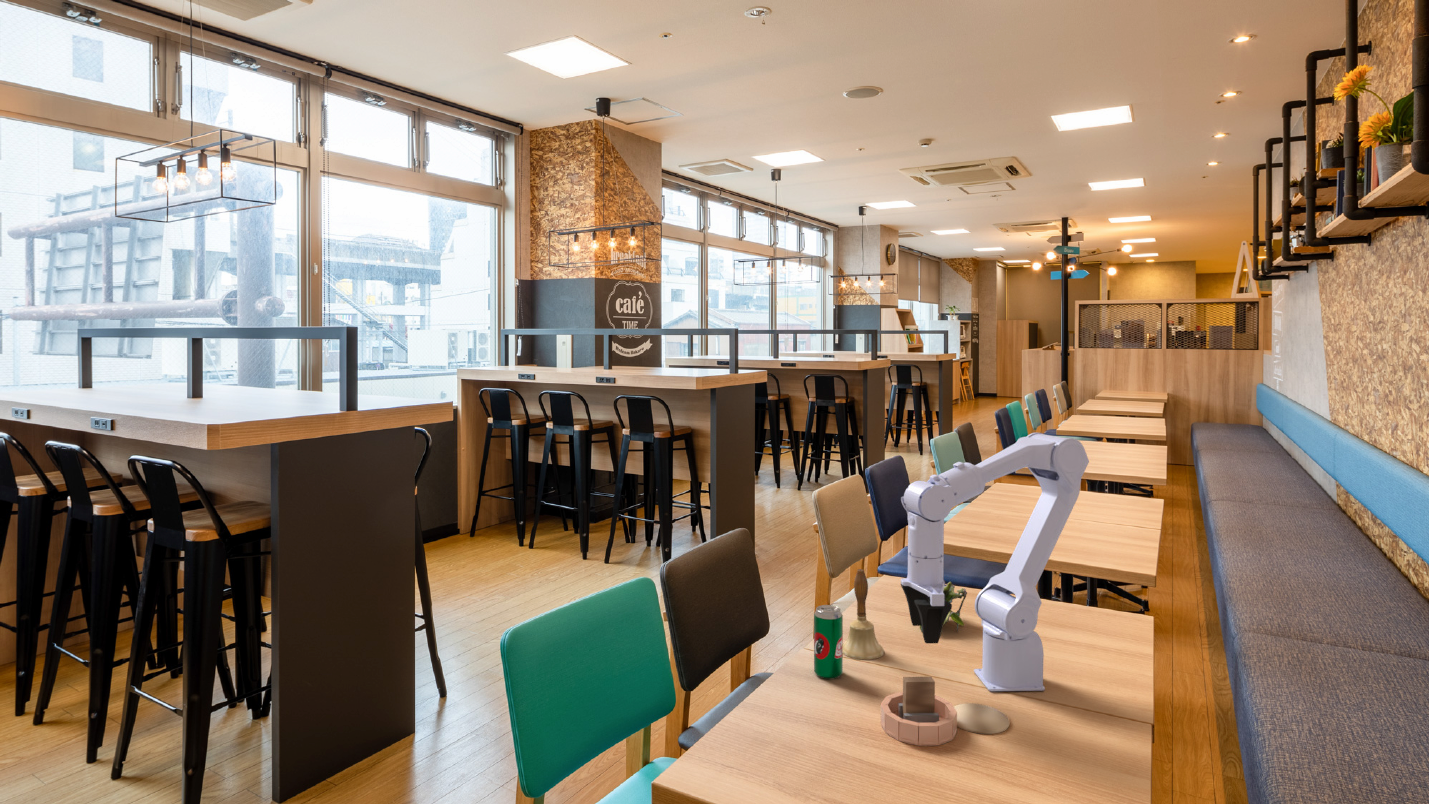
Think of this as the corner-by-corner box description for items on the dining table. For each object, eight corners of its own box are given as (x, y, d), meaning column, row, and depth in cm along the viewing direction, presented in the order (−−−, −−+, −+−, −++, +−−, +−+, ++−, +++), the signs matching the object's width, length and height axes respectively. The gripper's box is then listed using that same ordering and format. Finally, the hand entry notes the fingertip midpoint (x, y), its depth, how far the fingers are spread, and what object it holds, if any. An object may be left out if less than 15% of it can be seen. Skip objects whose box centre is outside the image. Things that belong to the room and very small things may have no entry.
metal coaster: (996, 705, 124) (996, 702, 124) (1018, 733, 115) (1018, 731, 115) (941, 706, 124) (941, 703, 124) (959, 734, 115) (959, 732, 115)
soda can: (842, 681, 134) (842, 614, 133) (813, 679, 135) (812, 613, 134) (843, 669, 139) (843, 604, 138) (815, 667, 140) (814, 603, 139)
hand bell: (855, 663, 141) (856, 578, 140) (831, 647, 149) (831, 566, 148) (892, 655, 145) (893, 572, 143) (867, 639, 152) (867, 561, 151)
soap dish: (943, 708, 124) (943, 690, 123) (966, 745, 112) (966, 725, 112) (874, 709, 123) (874, 691, 123) (890, 746, 112) (890, 726, 112)
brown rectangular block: (931, 720, 119) (931, 676, 118) (934, 725, 117) (934, 681, 116) (902, 720, 119) (903, 676, 118) (905, 726, 117) (906, 682, 116)
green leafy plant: (929, 645, 163) (941, 591, 168) (974, 651, 154) (985, 594, 159) (897, 625, 157) (911, 570, 162) (942, 630, 149) (955, 572, 154)
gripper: (891, 542, 134) (890, 618, 135) (913, 567, 120) (912, 651, 121) (931, 542, 134) (930, 617, 135) (958, 566, 120) (956, 650, 121)
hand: (924, 633), depth 128 cm, fingers open, 7 cm apart
